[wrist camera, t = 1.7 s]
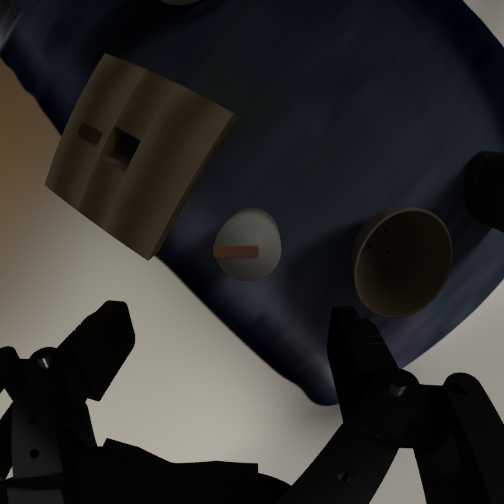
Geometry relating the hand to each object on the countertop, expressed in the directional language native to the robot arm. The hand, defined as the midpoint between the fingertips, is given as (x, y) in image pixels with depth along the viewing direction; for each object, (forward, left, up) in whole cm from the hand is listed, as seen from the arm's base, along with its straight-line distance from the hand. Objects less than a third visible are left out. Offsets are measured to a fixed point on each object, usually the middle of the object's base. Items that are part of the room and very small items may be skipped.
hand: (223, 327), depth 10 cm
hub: (+15, 0, -18) cm, 23 cm away
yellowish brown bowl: (-12, -6, -18) cm, 23 cm away
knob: (0, 0, -18) cm, 18 cm away
